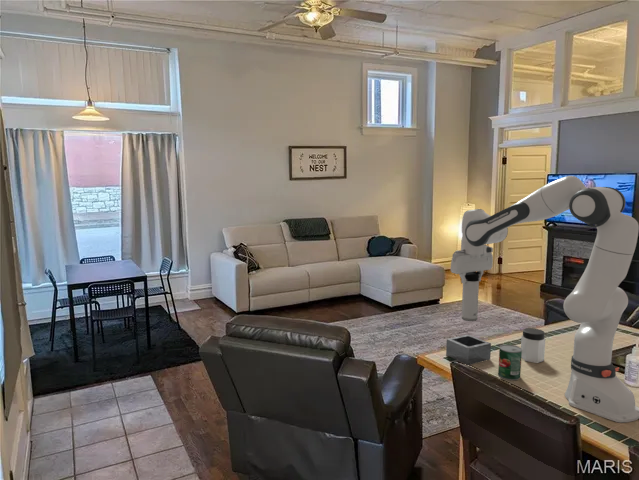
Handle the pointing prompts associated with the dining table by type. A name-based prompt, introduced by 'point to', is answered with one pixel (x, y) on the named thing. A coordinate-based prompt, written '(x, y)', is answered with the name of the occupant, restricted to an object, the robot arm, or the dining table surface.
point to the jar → (533, 345)
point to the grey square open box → (468, 349)
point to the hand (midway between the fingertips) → (471, 282)
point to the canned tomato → (509, 362)
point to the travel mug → (470, 297)
